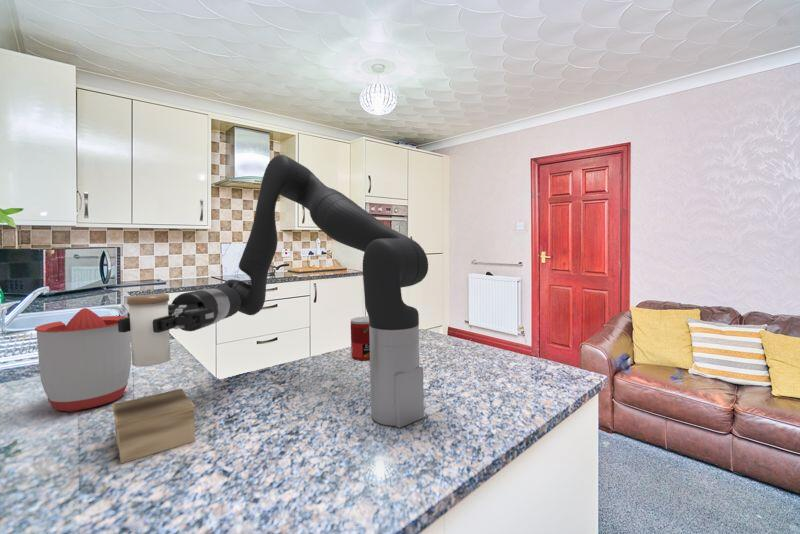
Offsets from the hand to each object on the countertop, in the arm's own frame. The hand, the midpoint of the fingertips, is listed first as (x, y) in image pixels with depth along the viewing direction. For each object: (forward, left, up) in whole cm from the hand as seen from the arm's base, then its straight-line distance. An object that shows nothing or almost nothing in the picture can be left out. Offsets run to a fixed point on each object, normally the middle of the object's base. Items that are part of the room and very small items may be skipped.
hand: (137, 326), depth 61 cm
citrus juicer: (+31, +6, -20) cm, 38 cm away
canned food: (+17, -56, -20) cm, 62 cm away
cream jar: (+2, -2, -6) cm, 7 cm away
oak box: (+1, -2, -20) cm, 20 cm away
